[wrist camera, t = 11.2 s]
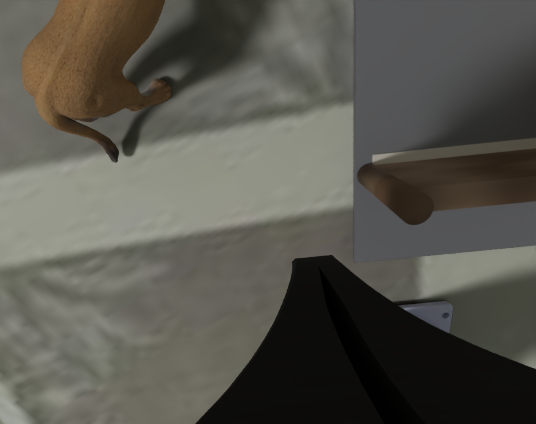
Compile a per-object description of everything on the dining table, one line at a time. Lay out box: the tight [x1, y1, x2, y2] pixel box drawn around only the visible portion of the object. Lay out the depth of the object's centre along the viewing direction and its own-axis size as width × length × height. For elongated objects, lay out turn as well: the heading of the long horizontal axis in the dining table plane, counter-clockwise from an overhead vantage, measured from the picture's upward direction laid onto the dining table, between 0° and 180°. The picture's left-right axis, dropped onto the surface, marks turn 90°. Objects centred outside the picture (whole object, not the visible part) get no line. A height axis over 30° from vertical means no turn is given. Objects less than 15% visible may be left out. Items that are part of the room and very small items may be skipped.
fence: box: [357, 148, 536, 225], centre depth 15 cm, size 14×2×6 cm, turn 96°
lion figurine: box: [21, 0, 171, 163], centre depth 11 cm, size 15×5×9 cm, turn 159°
